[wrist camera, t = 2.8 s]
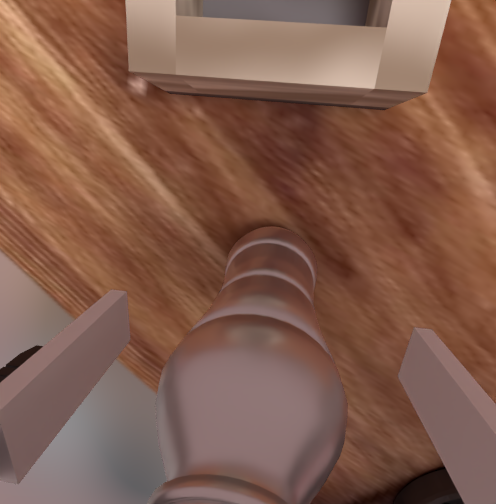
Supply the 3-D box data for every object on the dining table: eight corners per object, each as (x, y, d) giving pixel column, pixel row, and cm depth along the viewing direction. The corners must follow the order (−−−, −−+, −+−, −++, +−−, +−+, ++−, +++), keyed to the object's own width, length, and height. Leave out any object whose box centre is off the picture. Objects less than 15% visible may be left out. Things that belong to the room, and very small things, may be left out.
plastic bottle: (232, 218, 23) (-21, 502, 4) (318, 221, 22) (454, 595, 4) (233, 290, 25) (66, 685, 7) (312, 295, 24) (376, 773, 6)
